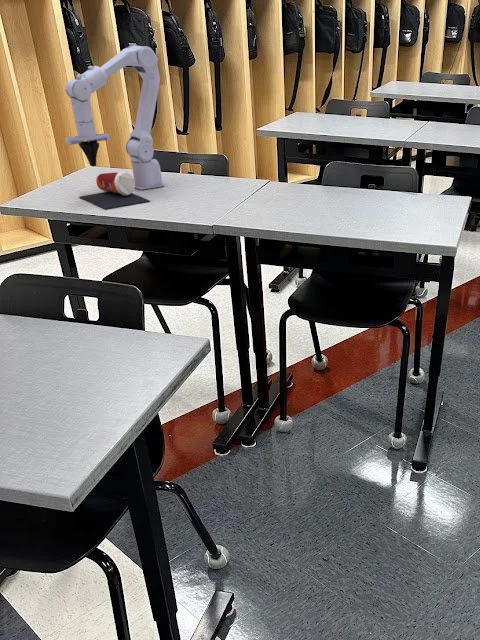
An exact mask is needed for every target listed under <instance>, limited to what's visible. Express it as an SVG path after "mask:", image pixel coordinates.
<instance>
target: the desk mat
mask: <svg viewBox="0 0 480 640" xmlns="http://www.w3.org/2000/svg"><path fill="white" fill-rule="evenodd" d="M79 199H81V200H84V201H86V202H87V203H90V204H92V205H95V206H97V207H99V208H101V209H103V210H112V209H117V208H118V209H119V208H122V207H128V206H129V207H130V206H134V205H140V204H145V203H150V202H151V201H150V200H149V199H147V198H145V197H143V196H140V195H137V194H134V193H133V192H132V193H131V194H129V195H122V194H119V193H113V192H108V191H104V192H99V193H93V194H86V195H80V196H79Z"/></svg>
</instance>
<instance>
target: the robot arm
mask: <svg viewBox="0 0 480 640" xmlns="http://www.w3.org/2000/svg"><path fill="white" fill-rule="evenodd" d="M158 63H159V57H158V56H157V55H156V53H155V51H154V49H152V47H150V46H146V45H144V46H142V45H137V44H130V45H129V46H128V47H125V48H123V49H122V50H120V52H118V53H117V54H116V55H114V56H113V57H112V58H111V59H109V60H108V61H106V62H105V63H104V64H103V65H101V66H98V65H94V66H93V65H89V66H88V67H87V70H86V71H85V72H83V73H81V74H77V75H76V78H71V79H69V80H68V81H67V82H66V84H65V93H66V95H67V96H68V98H69V99H70V104H71V109H72V113H73V118H74V122H75V127H76V132H77V133H76V134H77V135H73V136H70V137H69V136H68V137H65V138H64V141H65V144H66V145H67V146H72V145H78V146H79V147H80V149H81V150H82V152H83V153H84V155H85V158H86V159H87V161H88V164H89V166H91V167H96V166H97V157H98V151H99V148H100V143H99V142H104V141H111V139H110V134H109V133H96V128H95V123H94V117H93V113H92V107H91V102H90V98H91V96H92V94H94V92H96V91H98V90H99V89H101V88H102V87H104V86H106V84H107V83H108V78H109V77H111V76H112V75H114V74H116V73H117V72H119V71H121V70H122V69H124V68H125V67H132V68H134V69H135V70H136V71H137V73H138V74H139V76H140V77H141V79H142V85H141V91H140V95H139V101H138V107H137V113H136V117H135V124H134V128H133V130H132V131H131V132H130V134H129V138H128V139H127V141H126V143H125V152H126V153H127V155H128V156H129V157H130V163H131V170H132V177H133V178H134V181H135V189H137V190H140V191H143V190H148V189H155V188H161V187H164V186H165V185H164V183H163V177H162V169H161V165H160V163H159V161H158V160H157V159H156V158H153V157H154V153H155V152H154V150H155V149H154V139H153V136H152V134H151V133H152V127H153V121H154V117H155V110H156V106H157V100H158V95H159V90H160V89H159V88H160V84H161V75H160V71H159V67H158Z"/></svg>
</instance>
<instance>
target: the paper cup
mask: <svg viewBox="0 0 480 640" xmlns="http://www.w3.org/2000/svg"><path fill="white" fill-rule="evenodd" d="M95 179H96V182H95V183H96V186H97V188H98V189H99V190H101V191H102V192H103V191H104V192H113V193H119V194H122V195H129V194H131V193H132V194H133V192H134V191H135V189H136V188H135V181H134V176H133V175H132V174H130V173H129V172H127V171H124V170H122V171H117V172H105V173H100V174H98V175H97V177H96V178H95Z"/></svg>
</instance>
